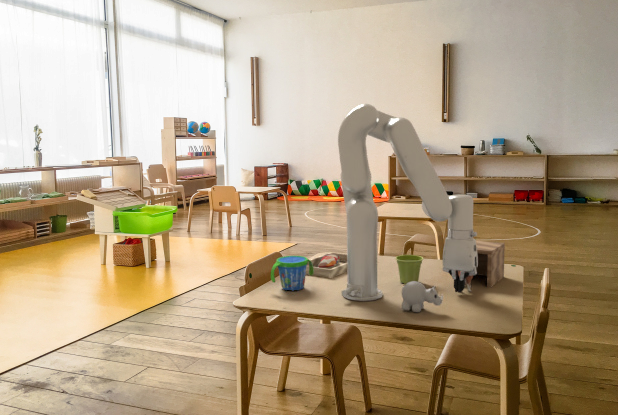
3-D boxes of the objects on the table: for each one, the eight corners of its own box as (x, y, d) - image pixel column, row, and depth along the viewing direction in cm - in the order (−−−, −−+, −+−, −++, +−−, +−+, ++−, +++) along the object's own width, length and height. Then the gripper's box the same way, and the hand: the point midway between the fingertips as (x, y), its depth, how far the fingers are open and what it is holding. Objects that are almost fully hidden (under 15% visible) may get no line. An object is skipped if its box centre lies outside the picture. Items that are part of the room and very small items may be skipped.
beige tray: (330, 278, 194) (330, 269, 194) (295, 272, 203) (295, 264, 203) (364, 264, 214) (364, 256, 214) (331, 259, 223) (331, 252, 223)
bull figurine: (476, 284, 183) (476, 260, 182) (470, 294, 171) (470, 269, 170) (463, 282, 185) (463, 259, 184) (455, 293, 173) (456, 268, 172)
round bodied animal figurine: (439, 317, 151) (440, 287, 150) (398, 311, 156) (398, 283, 155) (445, 310, 157) (446, 281, 156) (405, 304, 163) (405, 277, 162)
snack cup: (277, 295, 174) (276, 265, 173) (265, 287, 184) (264, 258, 182) (320, 289, 181) (320, 259, 180) (307, 281, 190) (306, 253, 189)
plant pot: (423, 286, 182) (423, 261, 180) (394, 285, 183) (394, 260, 182) (423, 279, 191) (423, 255, 189) (395, 278, 192) (396, 254, 191)
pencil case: (307, 274, 201) (306, 261, 200) (324, 262, 219) (324, 250, 218) (335, 276, 197) (335, 263, 196) (350, 264, 215) (350, 252, 214)
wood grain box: (490, 287, 179) (491, 251, 177) (455, 282, 186) (455, 247, 184) (503, 277, 191) (504, 243, 190) (470, 272, 198) (470, 239, 196)
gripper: (487, 234, 168) (486, 292, 170) (441, 230, 176) (441, 285, 179) (479, 238, 162) (478, 298, 164) (432, 234, 170) (432, 290, 173)
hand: (459, 291), depth 171 cm, fingers closed
